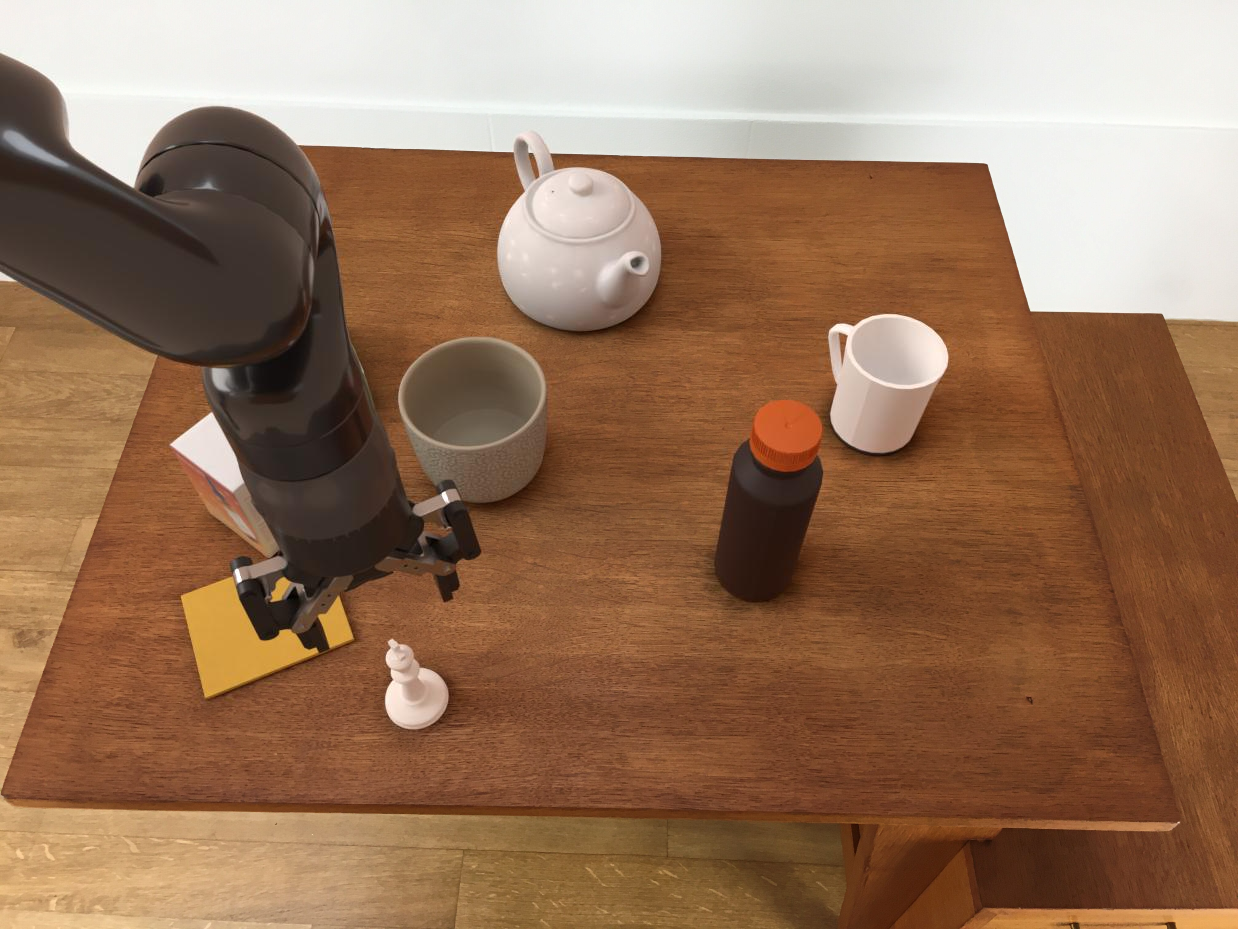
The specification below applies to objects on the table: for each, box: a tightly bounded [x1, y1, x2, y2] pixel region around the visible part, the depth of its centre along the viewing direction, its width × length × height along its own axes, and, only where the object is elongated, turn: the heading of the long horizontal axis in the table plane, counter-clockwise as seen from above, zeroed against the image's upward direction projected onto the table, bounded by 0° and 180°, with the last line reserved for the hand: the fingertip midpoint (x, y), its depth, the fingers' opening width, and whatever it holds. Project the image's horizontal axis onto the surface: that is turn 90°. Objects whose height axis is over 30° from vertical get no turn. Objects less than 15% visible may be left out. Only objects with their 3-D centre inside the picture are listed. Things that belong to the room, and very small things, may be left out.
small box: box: [169, 411, 280, 559], centre depth 82 cm, size 8×6×10 cm
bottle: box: [713, 399, 824, 602], centre depth 75 cm, size 7×7×20 cm
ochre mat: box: [180, 576, 355, 701], centre depth 80 cm, size 12×10×1 cm
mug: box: [827, 313, 949, 456], centre depth 89 cm, size 11×9×10 cm
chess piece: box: [384, 637, 450, 730], centre depth 72 cm, size 5×5×10 cm
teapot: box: [496, 130, 662, 332], centre depth 99 cm, size 19×18×14 cm
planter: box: [397, 336, 549, 504], centre depth 85 cm, size 12×12×11 cm
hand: (383, 614), depth 65 cm, fingers open, 8 cm apart
